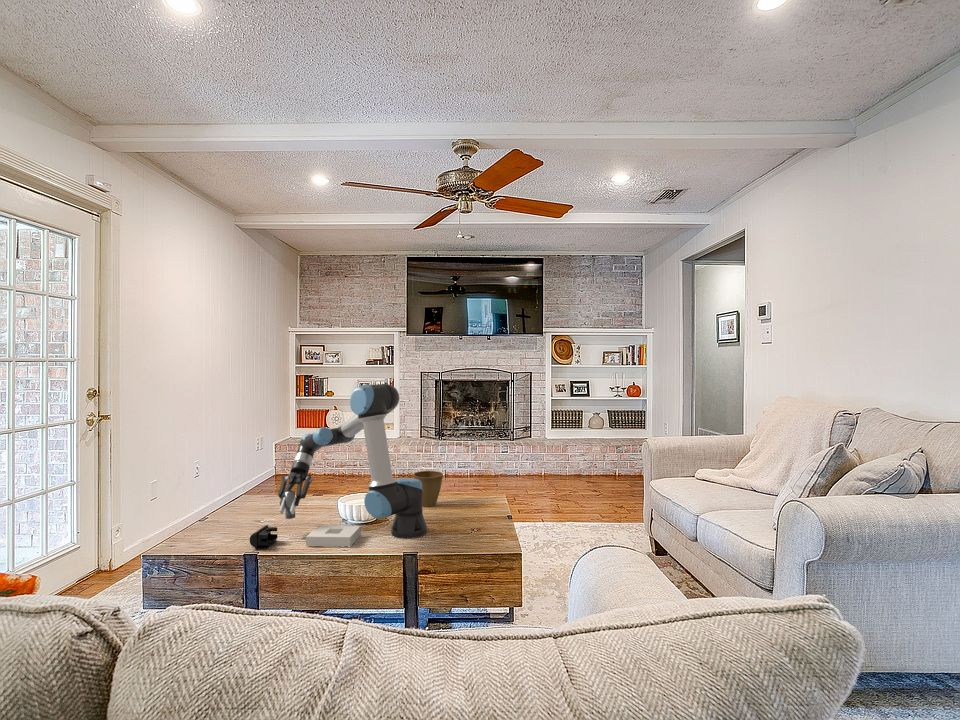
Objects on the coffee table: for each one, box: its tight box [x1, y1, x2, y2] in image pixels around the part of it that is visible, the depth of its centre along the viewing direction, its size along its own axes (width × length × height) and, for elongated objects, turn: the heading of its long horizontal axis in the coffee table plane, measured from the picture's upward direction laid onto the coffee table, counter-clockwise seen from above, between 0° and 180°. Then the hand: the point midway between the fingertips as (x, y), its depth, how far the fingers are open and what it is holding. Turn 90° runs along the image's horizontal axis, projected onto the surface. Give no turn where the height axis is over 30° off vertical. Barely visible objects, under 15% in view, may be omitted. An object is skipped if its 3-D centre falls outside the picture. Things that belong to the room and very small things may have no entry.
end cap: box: [249, 524, 278, 550], centre depth 216 cm, size 10×7×7 cm
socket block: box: [305, 524, 362, 548], centre depth 219 cm, size 18×14×4 cm
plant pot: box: [412, 470, 444, 508], centre depth 270 cm, size 15×15×16 cm
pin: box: [284, 490, 296, 520], centre depth 227 cm, size 4×4×11 cm
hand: (286, 512), depth 223 cm, fingers closed on pin, 4 cm apart
